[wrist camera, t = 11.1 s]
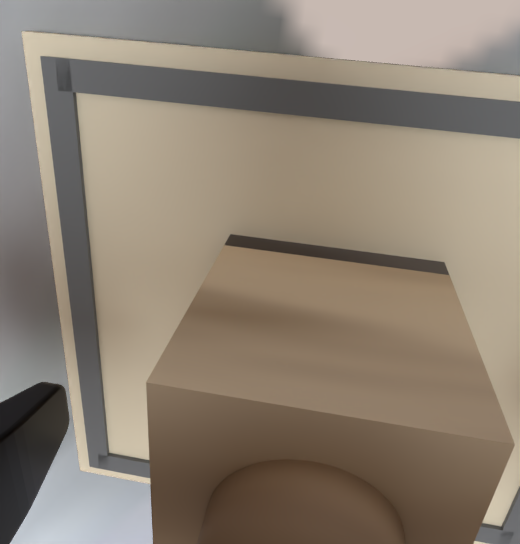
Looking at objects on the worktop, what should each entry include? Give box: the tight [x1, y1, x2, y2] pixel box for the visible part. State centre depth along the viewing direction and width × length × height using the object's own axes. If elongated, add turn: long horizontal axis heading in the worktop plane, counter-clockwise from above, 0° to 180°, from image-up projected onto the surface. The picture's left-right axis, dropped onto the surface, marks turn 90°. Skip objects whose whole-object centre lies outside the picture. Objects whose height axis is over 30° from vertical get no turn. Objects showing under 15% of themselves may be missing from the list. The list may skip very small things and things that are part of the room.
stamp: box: [146, 234, 515, 544], centre depth 9 cm, size 4×4×6 cm
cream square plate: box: [21, 31, 520, 544], centre depth 12 cm, size 13×12×1 cm
